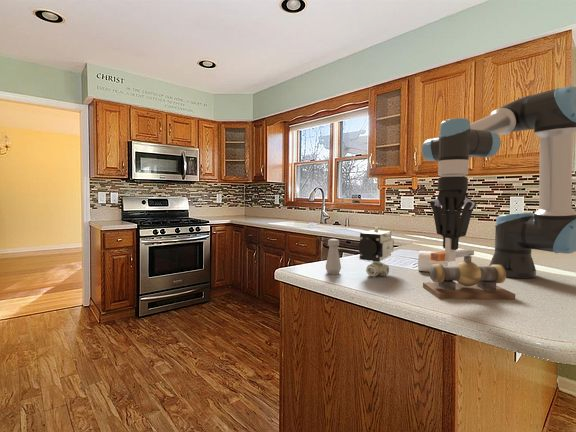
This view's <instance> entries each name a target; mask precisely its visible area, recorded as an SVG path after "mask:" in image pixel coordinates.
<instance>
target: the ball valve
mask: <svg viewBox="0 0 576 432" xmlns="http://www.w3.org/2000/svg"><path fill="white" fill-rule="evenodd" d="M357 249H358V253H359V260H363V261H368V262H370V261H371V262H372V263H370V264H368V265H367V266H366V268H365V269H366V270H365V272H366V274H367V275H368V276H369V277H372V278H373V277H376V276H380V277H384V276H389V273H390V267H389V266H390V265H387V264H385V262H384V263H383V262H381V261H384V260H385V259H387V258H388V257H391V255H392V253H393V252H394V239H393V238H392V231H391V230H379V227H374V229H372V230H367V231H364V232H360V233H359V243H358V246H357Z"/></svg>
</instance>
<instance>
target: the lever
mask: <svg viewBox="0 0 576 432" xmlns="http://www.w3.org/2000/svg"><path fill="white" fill-rule="evenodd" d="M433 252H434V253H431V259H430V260H433V261H445V250H444V251H433ZM474 255H475V250H473V249H472V250H471V249H458V250H456V259H457V258H464V257H465V256H471V257H472V256H474Z"/></svg>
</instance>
